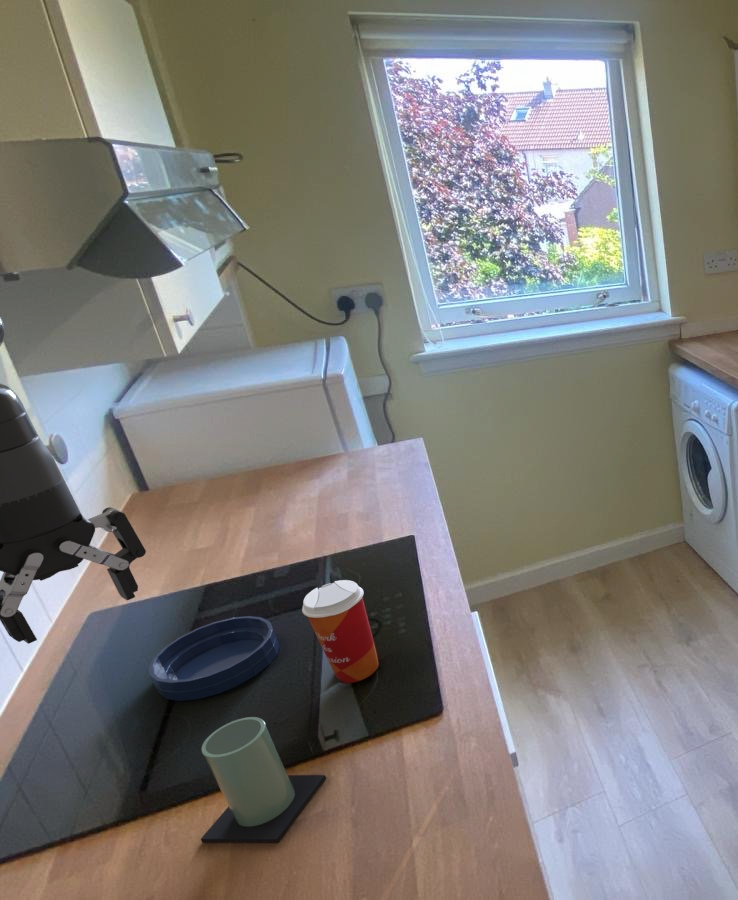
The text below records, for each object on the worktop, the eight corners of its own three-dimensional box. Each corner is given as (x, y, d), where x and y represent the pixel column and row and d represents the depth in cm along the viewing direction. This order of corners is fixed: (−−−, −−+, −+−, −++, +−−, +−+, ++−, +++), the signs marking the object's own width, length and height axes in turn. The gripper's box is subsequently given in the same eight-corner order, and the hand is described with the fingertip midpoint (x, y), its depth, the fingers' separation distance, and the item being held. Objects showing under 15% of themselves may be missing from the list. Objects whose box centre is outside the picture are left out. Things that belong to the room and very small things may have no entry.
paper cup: (323, 669, 110) (294, 592, 105) (379, 646, 115) (354, 571, 109) (335, 696, 105) (305, 617, 99) (393, 671, 110) (367, 594, 104)
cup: (226, 832, 84) (191, 762, 80) (247, 791, 90) (214, 723, 85) (285, 819, 86) (253, 749, 81) (302, 779, 91) (273, 711, 87)
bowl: (189, 717, 102) (178, 695, 101) (140, 682, 109) (129, 661, 107) (300, 654, 114) (292, 633, 112) (249, 626, 121) (241, 606, 119)
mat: (202, 842, 84) (200, 839, 84) (256, 778, 92) (255, 774, 92) (278, 842, 84) (276, 839, 83) (326, 778, 92) (325, 774, 92)
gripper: (-79, 527, 66) (7, 667, 73) (114, 466, 78) (173, 592, 84) (-104, 509, 70) (-20, 645, 76) (84, 453, 81) (143, 576, 88)
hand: (81, 617), depth 80 cm, fingers open, 8 cm apart
